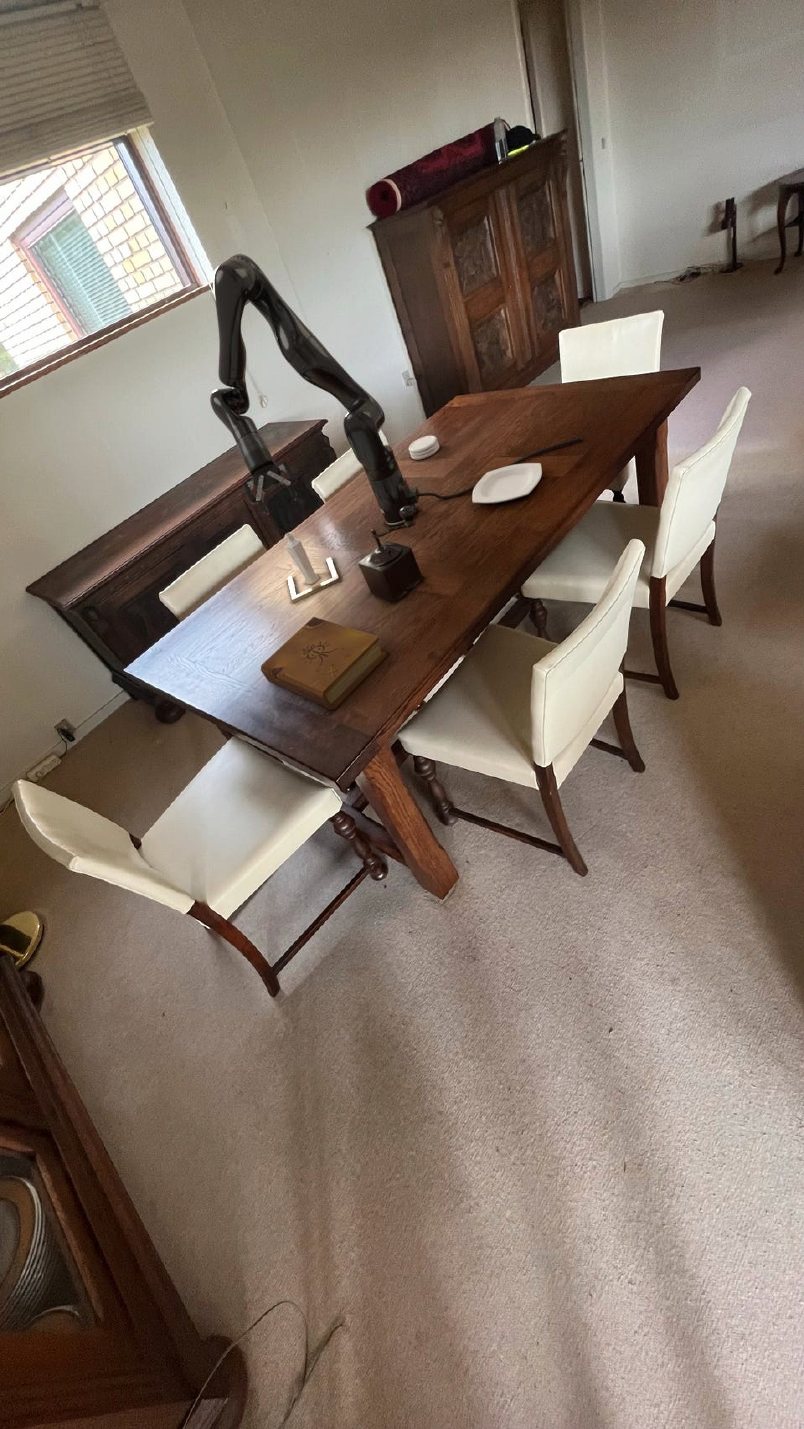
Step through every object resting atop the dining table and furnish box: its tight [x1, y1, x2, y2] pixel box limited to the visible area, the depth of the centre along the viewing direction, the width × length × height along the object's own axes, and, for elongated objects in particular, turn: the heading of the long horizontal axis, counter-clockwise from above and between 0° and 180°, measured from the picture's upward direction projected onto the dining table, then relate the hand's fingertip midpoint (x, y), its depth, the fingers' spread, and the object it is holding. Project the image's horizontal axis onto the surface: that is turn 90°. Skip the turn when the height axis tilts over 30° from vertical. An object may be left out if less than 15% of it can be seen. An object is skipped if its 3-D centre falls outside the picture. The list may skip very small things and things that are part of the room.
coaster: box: [408, 435, 440, 461], centre depth 209 cm, size 10×10×4 cm
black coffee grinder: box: [357, 506, 424, 603], centre depth 153 cm, size 16×11×18 cm
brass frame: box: [286, 556, 341, 604], centre depth 176 cm, size 13×14×1 cm
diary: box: [260, 616, 388, 710], centre depth 142 cm, size 23×19×6 cm
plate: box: [471, 462, 543, 504], centre depth 172 cm, size 19×19×2 cm
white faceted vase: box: [284, 531, 320, 585], centre depth 171 cm, size 5×4×15 cm
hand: (281, 506), depth 174 cm, fingers open, 8 cm apart
